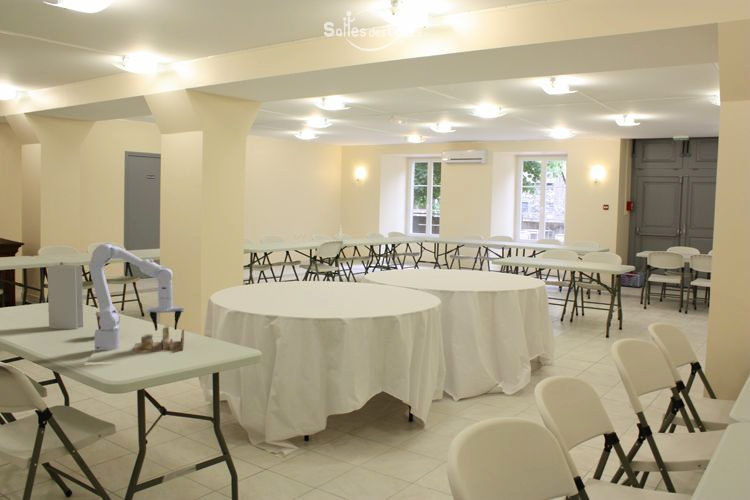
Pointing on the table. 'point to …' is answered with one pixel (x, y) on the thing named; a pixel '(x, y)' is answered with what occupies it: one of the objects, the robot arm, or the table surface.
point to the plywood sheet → (165, 336)
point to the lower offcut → (146, 345)
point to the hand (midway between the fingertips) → (166, 329)
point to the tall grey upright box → (65, 296)
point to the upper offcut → (147, 338)
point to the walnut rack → (161, 346)
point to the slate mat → (160, 336)
